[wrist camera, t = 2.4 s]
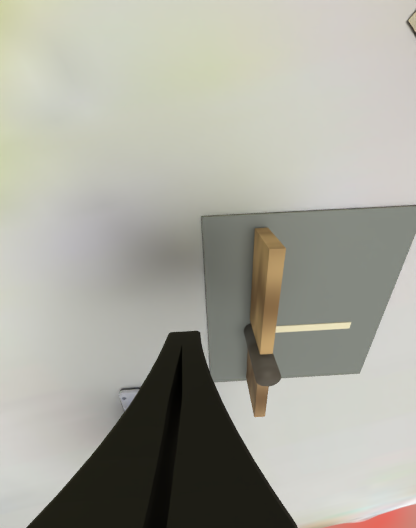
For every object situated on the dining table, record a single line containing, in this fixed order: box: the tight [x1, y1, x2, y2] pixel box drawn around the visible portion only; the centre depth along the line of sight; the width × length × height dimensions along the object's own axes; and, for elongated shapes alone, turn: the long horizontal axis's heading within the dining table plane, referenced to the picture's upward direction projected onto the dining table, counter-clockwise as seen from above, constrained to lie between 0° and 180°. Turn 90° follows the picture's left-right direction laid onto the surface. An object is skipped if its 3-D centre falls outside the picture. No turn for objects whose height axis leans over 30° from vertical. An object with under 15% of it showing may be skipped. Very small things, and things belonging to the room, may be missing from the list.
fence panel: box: [250, 228, 286, 354], centre depth 17 cm, size 9×1×4 cm, turn 2°
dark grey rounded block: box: [244, 323, 281, 417], centre depth 21 cm, size 8×2×5 cm, turn 2°
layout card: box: [202, 205, 416, 382], centre depth 21 cm, size 19×17×1 cm
